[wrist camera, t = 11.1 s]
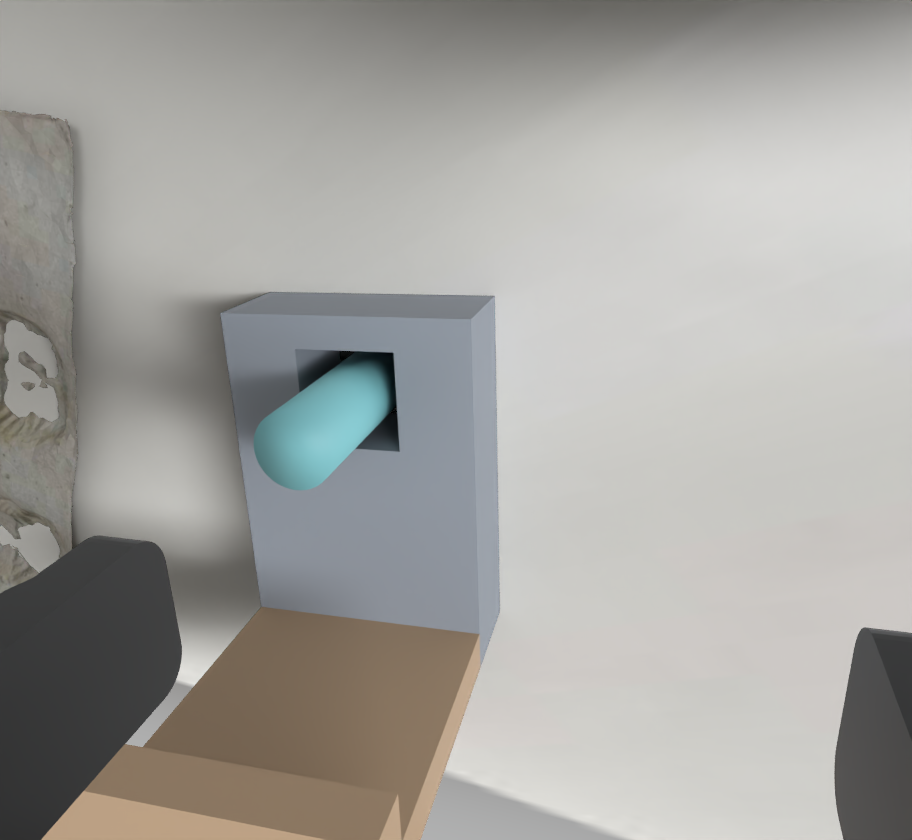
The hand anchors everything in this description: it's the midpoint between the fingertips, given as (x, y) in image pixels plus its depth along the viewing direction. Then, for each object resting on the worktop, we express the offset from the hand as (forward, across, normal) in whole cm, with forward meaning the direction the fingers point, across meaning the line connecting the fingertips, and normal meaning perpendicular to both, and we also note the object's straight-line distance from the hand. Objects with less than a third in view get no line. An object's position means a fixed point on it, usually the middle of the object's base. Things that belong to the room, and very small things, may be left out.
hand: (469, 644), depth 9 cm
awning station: (+29, +12, +12) cm, 34 cm away
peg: (+30, +12, +6) cm, 33 cm away
